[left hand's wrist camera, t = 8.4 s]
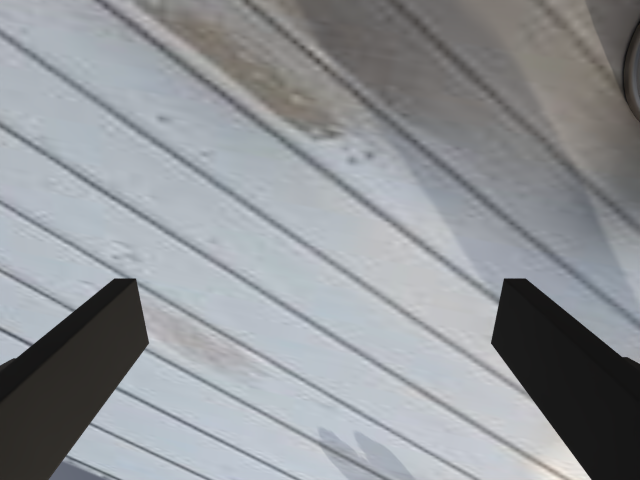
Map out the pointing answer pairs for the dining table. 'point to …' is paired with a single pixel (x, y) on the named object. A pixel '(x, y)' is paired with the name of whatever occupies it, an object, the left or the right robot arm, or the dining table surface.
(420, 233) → the dining table surface
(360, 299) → the dining table surface
